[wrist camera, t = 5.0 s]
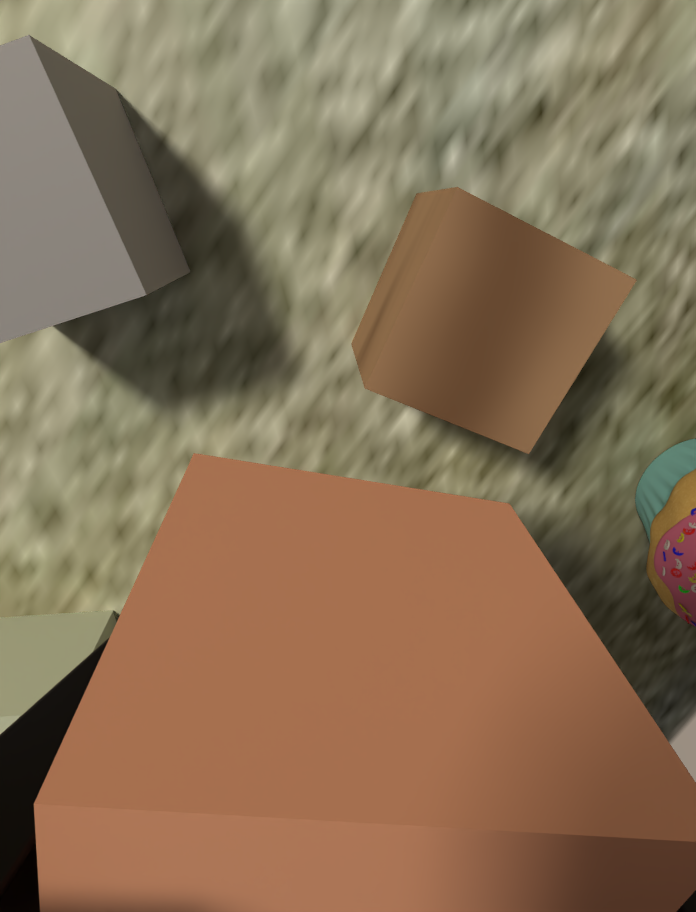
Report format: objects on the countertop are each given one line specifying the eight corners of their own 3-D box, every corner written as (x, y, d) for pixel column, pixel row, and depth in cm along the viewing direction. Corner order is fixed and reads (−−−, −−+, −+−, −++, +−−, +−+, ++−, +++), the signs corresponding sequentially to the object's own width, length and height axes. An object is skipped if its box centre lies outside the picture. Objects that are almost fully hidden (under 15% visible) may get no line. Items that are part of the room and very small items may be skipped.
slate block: (116, 89, 16) (28, 35, 11) (191, 271, 18) (146, 294, 13) (-48, 147, 16) (-205, 120, 11) (46, 319, 19) (-50, 359, 14)
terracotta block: (509, 503, 9) (736, 844, 4) (425, 714, 12) (512, 1095, 7) (194, 453, 8) (32, 803, 4) (169, 691, 11) (51, 1108, 6)
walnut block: (551, 261, 19) (636, 279, 14) (476, 396, 21) (528, 454, 16) (416, 193, 18) (457, 186, 13) (351, 343, 20) (365, 388, 15)
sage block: (113, 609, 24) (63, 712, 19) (137, 693, 27) (97, 804, 22) (-9, 616, 24) (-92, 723, 19) (26, 701, 26) (-40, 815, 21)
